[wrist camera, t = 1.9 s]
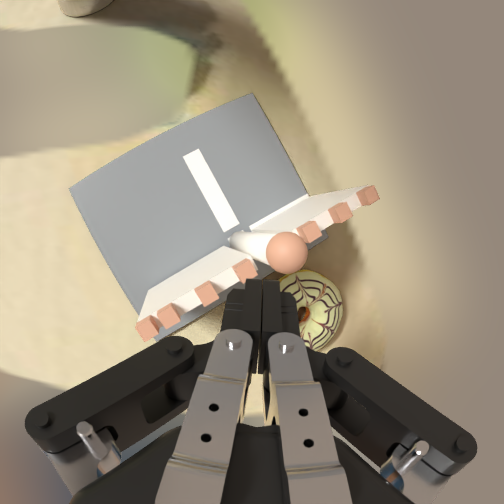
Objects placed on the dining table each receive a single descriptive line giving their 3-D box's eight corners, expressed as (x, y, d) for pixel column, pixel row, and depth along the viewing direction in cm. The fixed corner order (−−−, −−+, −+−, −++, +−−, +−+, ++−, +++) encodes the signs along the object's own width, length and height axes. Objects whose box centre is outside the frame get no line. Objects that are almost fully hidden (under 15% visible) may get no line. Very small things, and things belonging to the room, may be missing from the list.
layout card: (70, 189, 30) (68, 188, 30) (250, 94, 35) (252, 92, 34) (156, 339, 34) (156, 341, 33) (326, 237, 38) (328, 237, 38)
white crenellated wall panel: (223, 245, 34) (254, 256, 21) (228, 255, 34) (263, 271, 22) (148, 290, 33) (135, 327, 20) (154, 299, 33) (144, 342, 20)
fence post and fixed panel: (222, 237, 35) (265, 246, 19) (305, 190, 37) (393, 170, 21) (234, 259, 35) (286, 285, 19) (316, 211, 37) (406, 203, 21)
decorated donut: (237, 331, 37) (244, 341, 33) (281, 252, 37) (292, 255, 34) (304, 361, 39) (317, 372, 36) (344, 290, 40) (360, 296, 36)
